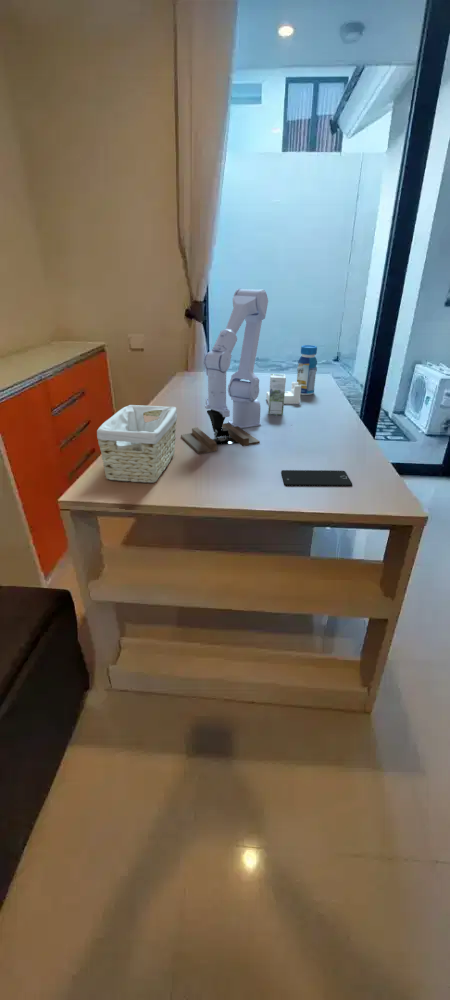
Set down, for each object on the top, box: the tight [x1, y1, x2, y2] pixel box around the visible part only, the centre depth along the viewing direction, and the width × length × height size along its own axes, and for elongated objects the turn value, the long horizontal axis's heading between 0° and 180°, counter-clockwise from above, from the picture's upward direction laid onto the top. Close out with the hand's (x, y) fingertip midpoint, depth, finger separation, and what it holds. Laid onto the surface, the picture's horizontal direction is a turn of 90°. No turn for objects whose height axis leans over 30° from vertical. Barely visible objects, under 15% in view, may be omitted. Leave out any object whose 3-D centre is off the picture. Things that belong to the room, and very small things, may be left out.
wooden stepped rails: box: [180, 422, 261, 455], centre depth 143 cm, size 21×16×2 cm
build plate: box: [211, 428, 238, 446], centre depth 143 cm, size 12×7×5 cm, turn 105°
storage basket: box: [96, 404, 178, 484], centre depth 122 cm, size 24×16×15 cm
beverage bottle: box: [296, 344, 318, 396], centre depth 191 cm, size 8×8×20 cm
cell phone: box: [280, 469, 353, 487], centre depth 119 cm, size 9×18×1 cm, turn 90°
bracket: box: [266, 381, 302, 405], centre depth 183 cm, size 13×7×8 cm, turn 92°
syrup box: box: [267, 373, 287, 416], centre depth 167 cm, size 6×6×14 cm
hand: (217, 431), depth 145 cm, fingers closed
